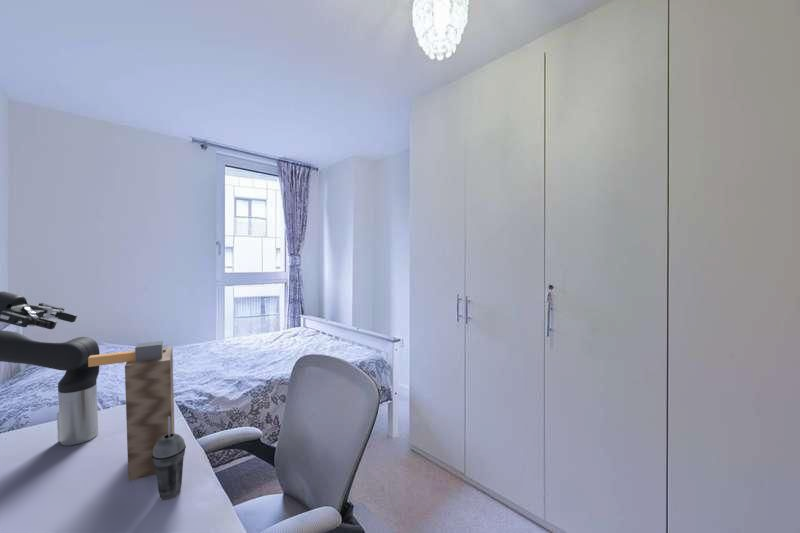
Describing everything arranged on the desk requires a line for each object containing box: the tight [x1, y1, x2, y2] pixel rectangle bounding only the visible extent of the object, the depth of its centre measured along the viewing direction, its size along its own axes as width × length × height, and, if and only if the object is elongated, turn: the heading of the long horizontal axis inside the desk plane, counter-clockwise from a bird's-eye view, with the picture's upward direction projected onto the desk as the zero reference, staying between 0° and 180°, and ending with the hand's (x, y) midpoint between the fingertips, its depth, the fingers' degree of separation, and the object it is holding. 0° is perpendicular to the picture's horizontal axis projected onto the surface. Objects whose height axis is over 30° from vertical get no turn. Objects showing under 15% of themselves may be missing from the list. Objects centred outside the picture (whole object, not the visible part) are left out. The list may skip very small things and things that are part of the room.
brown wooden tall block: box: [124, 344, 176, 483], centre depth 101 cm, size 10×16×33 cm, turn 32°
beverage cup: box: [152, 416, 187, 501], centre depth 88 cm, size 7×7×20 cm
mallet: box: [88, 340, 164, 367], centre depth 95 cm, size 16×4×4 cm, turn 122°
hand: (65, 322), depth 95 cm, fingers open, 8 cm apart
